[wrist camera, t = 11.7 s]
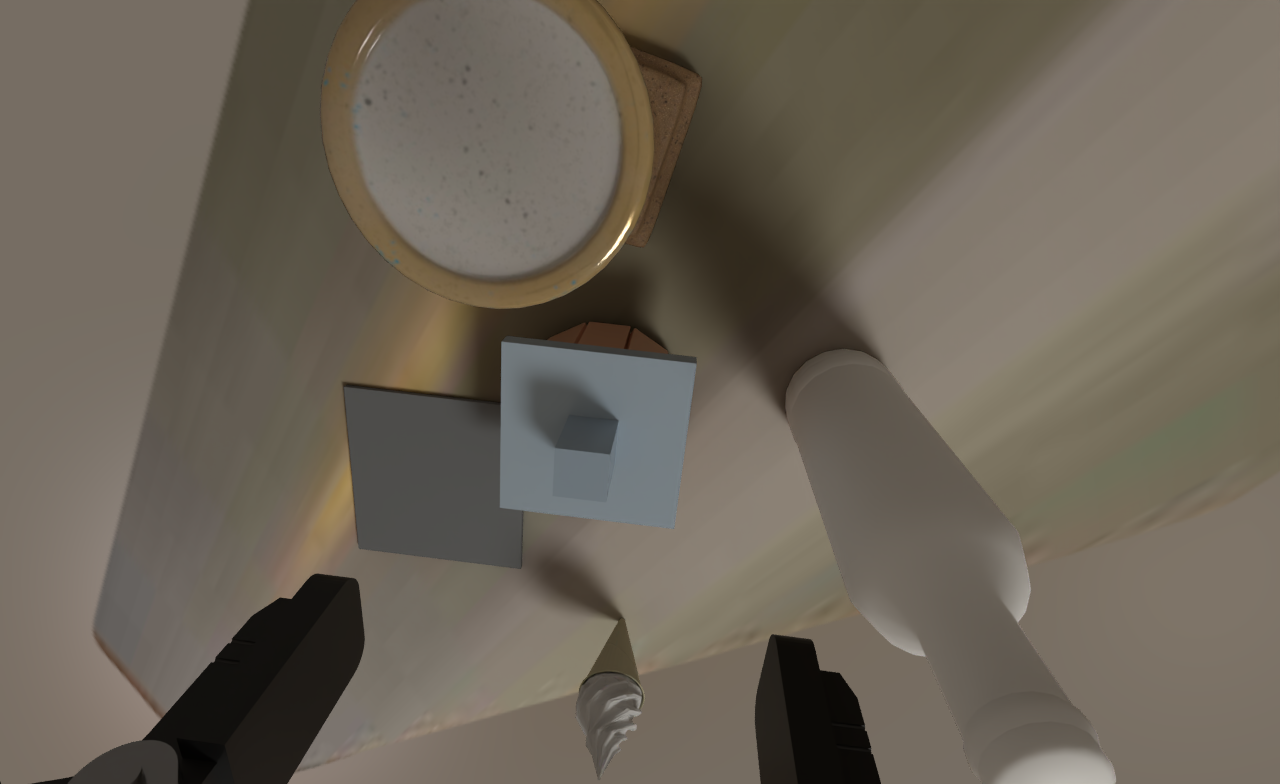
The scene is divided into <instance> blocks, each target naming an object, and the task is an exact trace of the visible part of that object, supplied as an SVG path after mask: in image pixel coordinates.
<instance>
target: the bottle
mask: <svg viewBox="0 0 1280 784" xmlns="http://www.w3.org/2000/svg"><path fill="white" fill-rule="evenodd" d="M785 410H786V413H787V420H788V423H789V426H790V429H791V432H792V434H793V437H794V440H795V442H796V443H797V445H798V448H799V451H800V454H801V457H802V460H803V463H804V466H805V469H806V472H807V475H808V478H809V481H810V484H811V487H812V490H813V493H814V496H815V498H816V501H817V504H818V507H819V510H820V513H821V516H822V519H823V522H824V525H825V528H826V531H827V534H828V537H829V540H830V543H831V546H832V549H833V552H834V555H835V558H836V561H837V564H838V567H839V570H840V573H841V576H842V578H843V581H844V584H845V587H846V590H847V592H848V595H849V598H850V601H851V602H852V604H853V605H854V606H855V607H856V608H857V609H858V610H859V612H860V613H861V614H862V615H863V616H864V617H865V618H866V619H867V620H868V621H869V622H870V623H871V624H872V625H873V626H874V628H875V629H877V631H878V632H879V633H880V634H881V635H882V636H884V637H885V638H886V639H887V640H888V641H889V642H890V643H891V644H892V645H894V646H896V647H899V648H901V649H902V650H904V651H907V652H909V653H911V654H913V655H918V656H925V657H926V658H927V660H928V663H929V665H930V667H931V669H932V672H933V674H934V676H935V678H936V681H937V683H938V685H939V687H940V690H941V692H942V694H943V696H944V698H945V701H946V703H947V705H948V708H949V710H950V712H951V714H952V717H953V719H954V721H955V723H956V726H957V728H958V730H959V732H960V735H961V737H962V739H963V741H964V742H963V749H964V752H965V756H966V759H967V761H968V764H969V767H970V769H971V771H972V773H973V774H974V775H975V776H976V777H977V778H978V779H979V780H980V781H981V782H982V784H1115V783H1116V776H1115V771H1114V767H1113V765H1112V763H1111V762H1110V760H1109V759H1108V757H1107V756H1106V754H1105V753H1104V751H1103V750H1102V748H1101V747H1100V743H1099V738H1098V733H1097V731H1096V730H1095V728H1094V727H1093V725H1092V724H1091V722H1090V721H1089V720H1088V719H1087V718H1086V716H1085V715H1084V714H1083V713H1082V712H1081V711H1080V710H1079V709H1078V708H1076V707H1075V706H1073V704H1072V703H1071V701H1070V700H1069V698H1068V697H1067V695H1066V694H1065V692H1064V691H1063V689H1062V688H1061V686H1060V685H1059V683H1058V682H1057V680H1056V679H1055V677H1054V676H1053V674H1052V673H1051V671H1050V670H1049V668H1048V667H1047V665H1046V664H1045V662H1044V661H1043V659H1042V658H1041V656H1040V655H1039V653H1038V652H1037V650H1036V649H1035V647H1034V646H1033V644H1032V643H1031V641H1030V640H1029V638H1028V637H1027V635H1026V634H1025V632H1024V631H1023V629H1022V628H1021V626H1020V625H1019V623H1018V622H1019V620H1020V619H1021V618H1022V616H1023V615H1024V614H1025V612H1026V609H1027V605H1028V600H1029V596H1030V592H1031V587H1030V580H1029V574H1028V569H1027V565H1026V560H1025V556H1024V552H1023V548H1022V544H1021V540H1020V536H1019V532H1018V531H1017V530H1016V528H1015V527H1014V526H1013V525H1012V524H1011V522H1010V521H1009V520H1008V519H1007V517H1006V516H1005V515H1004V514H1003V512H1002V511H1001V510H1000V509H999V508H998V506H997V505H996V504H995V503H994V501H993V500H992V499H991V498H990V496H989V495H988V494H987V493H986V492H985V490H984V489H983V488H982V487H981V485H980V484H979V483H978V482H977V481H976V479H975V478H974V477H973V476H972V474H971V473H970V472H969V471H968V469H967V468H966V467H965V466H964V465H963V463H962V462H961V461H960V460H959V458H958V457H957V456H956V455H955V453H954V452H953V451H952V450H951V449H950V447H949V446H948V445H947V444H946V442H945V441H944V440H943V439H942V438H941V436H940V435H939V434H938V433H937V431H936V430H935V429H934V428H933V426H932V425H931V424H930V423H929V422H928V420H927V419H926V418H925V417H924V415H923V414H922V413H921V412H920V410H919V409H918V408H917V407H916V406H915V404H914V403H913V402H912V401H911V399H910V398H909V397H908V396H907V395H906V393H905V392H904V389H903V387H902V386H901V385H900V383H899V382H898V381H897V380H896V378H895V377H894V376H893V375H892V374H891V372H890V371H889V370H888V369H887V368H886V367H885V366H884V365H882V364H881V363H880V361H879V360H877V359H875V358H874V357H872V356H870V355H868V354H866V353H864V352H863V351H856V350H849V349H838V350H832V351H827V352H823V353H821V354H819V355H817V356H815V357H813V358H812V359H810V360H808V361H806V362H805V363H804V364H803V365H802V366H801V367H800V368H799V370H798V371H797V372H796V373H795V374H794V375H793V377H792V379H791V381H790V383H789V386H788V388H787V390H786V400H785Z"/></svg>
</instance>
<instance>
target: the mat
mask: <svg viewBox="0 0 1280 784" xmlns="http://www.w3.org/2000/svg"><path fill="white" fill-rule="evenodd" d="M344 395H345V405H346V416H347V427H348V438H349V449H350V459H351V470H352V481H353V492H354V502H355V513H356V524H357V535H358V545H359V549H366V550H374V551H382V552H390V553H398V554H406V555H414V556H422V557H430V558H438V559H446V560H454V561H462V562H470V563H478V564H486V565H494V566H502V567H510V568H518V569H521V567H522V538H523V510H514V509H506V508H500V443H501V403H497V402H489V401H480V400H472V399H463V398H454V397H446V396H437V395H429V394H420V393H412V392H403V391H394V390H386V389H377V388H369V387H360V386H352V385H346V386H344Z"/></svg>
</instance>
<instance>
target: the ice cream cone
mask: <svg viewBox="0 0 1280 784" xmlns="http://www.w3.org/2000/svg"><path fill="white" fill-rule="evenodd" d="M644 700H645V696H644V691H643V688H642V687H641V685H640V680H639V675H638V671H637V667H636V663H635V659H634V655H633V651H632V647H631V643H630V639H629V635H628V631H627V627H626V623H625V619H623V618H621V619H620V620H619V621H618V623H617V625H616V627H615V628H614V630H613V632H612V634H611V635H610V637H609V639H608V641H607V642H606V644H605V646H604V648H603V649H602V651H601V653H600V655H599V657H598V658H597V660H596V662H595V664H594V665H593V667H592V669H591V671H590V672H589V674H588V676H587V677H586V678H585V679H584V680H583V682H582V683H581V685H580V688H579V695H578V699H577V703H576V719H577V721H578V723H579V725H580V727H581V729H582V731H583V733H584V734H585V735H586V747H587V748H588V750H589V752H590V753H591V755H592V758H593V762H594V765H595V769H596V773H597V777H598V780H600V778H601V776H602V775H603V773H604V771H605V769H606V767H607V766H608V764H609V762H610V761H611V759H612V758H613V756H614V755H615V754H616V753H618V752H619V751H621V748H620V747H619V743H621V742H622V740H623V741H625V740H626V739H627V737H626V735H625V733H626V731H627V730H628V729H629V730H632V731H634V730H636V728H637V726H636V724H634V723H632V719H633V717H634V716H635V717H636V716H638V715H640V714H641V713H642V711H641V708H642V706H643V704H644Z"/></svg>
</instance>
